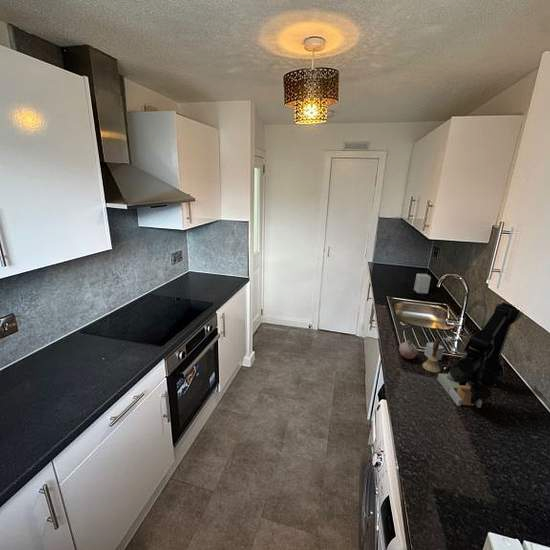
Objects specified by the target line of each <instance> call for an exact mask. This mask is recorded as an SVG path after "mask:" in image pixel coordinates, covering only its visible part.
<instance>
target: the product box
mask: <svg viewBox="0 0 550 550" xmlns="http://www.w3.org/2000/svg"><path fill="white" fill-rule="evenodd" d="M433 343H434V342H426V346H425V350H424V354H423V355H424V356H426V358H428V357H429V356H432V353H433ZM444 351H445V347H444V346H443V345H441V344H439V348H438V350H437V352H436V358H437V359H438V361H441V360H442V359H443V356H444Z"/></svg>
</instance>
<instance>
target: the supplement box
mask: <svg viewBox="0 0 550 550" xmlns="http://www.w3.org/2000/svg"><path fill="white" fill-rule="evenodd" d="M431 279H432V277H431V275H429V274H428V273H416V275H415V280H414V287H413V291H415V292H416V293H417V294H426V295H427V294H428V295H429V290H430V283H431Z"/></svg>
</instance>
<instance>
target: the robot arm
mask: <svg viewBox="0 0 550 550" xmlns="http://www.w3.org/2000/svg"><path fill="white" fill-rule="evenodd" d="M512 305H513V304H509V303H506V302H502V303H497V304H496V305H495V308H494V311H493V314H492V315H491V316H490V318H489V319H488V321H487V323H486V324H485V325H484V326H483V328H482V329H481V330H476V332H475V333H474V334H473V335H471V336H470V338H469V339H468V341H467V343H466V345H465V347H464V349H463V352H465V353H467V354H466V356H464V357H462V358H460V359H459V360H458V361H457V363H454V364H453V365H452V368H449V372H450V375H451V377H452V378H453V379H454V381H456V382H459V385H464V386H465V385H466V383H468V382H470V383H471V384H472V385H470V386H471V390H470V392H471V393H472V395H471V404H474V403H475V402H477V401H478V400H479V399H481V400H482V398H492V395H493V392H492V390H490V388H489V387H491V386H490V385H493V386H494V384H497V382H498V381H499V378H500V377H502V378H503V376H504V373H505V368H504V367H505V366H504V357H503V353H502V352H503V349H504V348H505V345H506V341H507V338H508V335H509V333H510V330H511V327H512V325H513V324H514V323H516V322H517V321H518V320H519V319H520V318H521V317H522V315H523V312H522V313H521V312H520V311H519V310H517V309H516V308H515V307H513V306H512ZM474 405H475V404H474Z"/></svg>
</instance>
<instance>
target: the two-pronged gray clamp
mask: <svg viewBox="0 0 550 550" xmlns="http://www.w3.org/2000/svg"><path fill="white" fill-rule="evenodd" d="M436 380H438V382H439V383H440V384H441V386H442V387H443V389H444V390H445V391H446V393H447V394H448V395H449V396H450V397H451V399H452V400H453V402H454V403H455V404H456V406H457V407H461V406H462V404H461V403H462V399H461V398H460V397H459V395H458V394H457V389H458V386H459V382H456V381H454V379H453V378H452V377H451V375H450V371H448V372H447V373H440V372H438V374H437V378H436ZM465 386H470V384H469V383H468V382H467V383H466V385H465ZM482 404H483V400H482V398H481V399H479V400H478V401H477V402H475V403H474V405H475V406H476V407H477V408H480V409H481V408H482Z"/></svg>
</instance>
